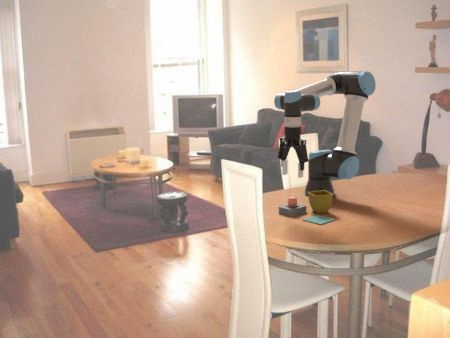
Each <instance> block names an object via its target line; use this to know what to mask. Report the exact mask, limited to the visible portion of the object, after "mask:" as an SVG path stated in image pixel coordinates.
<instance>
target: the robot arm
mask: <svg viewBox="0 0 450 338" xmlns="http://www.w3.org/2000/svg"><path fill="white" fill-rule="evenodd" d="M376 85H377V83H376V79H375V77H374V75H373V73H371V72H370V71H368V70H367V71H366V70H354V71H353V70H352V71H351V70H350V71H349V70H346V71H345V70H344V71H339V72H336V73H333V74H330V75H327V76H325V77H323V78H322V79H321V80H320V81H317V82H314V83H312V84H309V85H305V86H303V87H301V88H298V89H295V90H290V91H289V90H287V91H285V92H284V93H283V92H282V93H278V94H276V95H275V96H274V99H273V102H274V103H273V104H274V106H275V108H276V109H278V110H282V111H284V116H283V117H284V119H283V121H284V122H283V123H284V128H283V129H284V130H283V131H284V132H283V133H284V135H285V136H283V137H279V146H278V152H277V159H280V160H281V161H280V162H281V163H280V164H281V165H280V166H281V169H282V170H281V173H282V176H285V175H288V167H289V166H288V164H289V163H288V156H289V154H290V153H289V152H290V149H291V148H293V150H295V153H296V157H297V160H298V163H297V178H298V179H300V178H304V171H305V163H308V164H307V165H308V172H307V174H308V179H307V182H306V186H305V189H304V195H306V196H307V197H308V192H312V191H321V190H326V191H328V192H330V193H332V194H333V196H334V195H335V189H334V186H333V182H332V178H337V179H340V180H351V179H353V178H354V177H355V176H356V175H357V174H358V172H359V170H360V159H359V157H357V155H358V154H357V152H356V150H355V149H356V143H357V138H358V134H359V128H360V125H361V120H362V119H361V118H362V113H363V111H364V105H365V103H366V102H368V101H369V97H370V96H372V95H373V94H374V93H375V91H376V87H377V86H376ZM332 95H343V97H344V98H345V100H346V101H345V106H344V111H343V116H342V121H341V125H340V130H339V135H338V140H337V145H336V147H334V148H333V149H332V150H331V149H322V150H321V149H318V150H314V151H309V153H308V150H307V140H306V139H302V138H301V136H302V112H313V111H316V110H318V109H319V108H320V106H321V98H322V97H325V96H332Z"/></svg>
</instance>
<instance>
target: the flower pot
mask: <svg viewBox="0 0 450 338" xmlns="http://www.w3.org/2000/svg"><path fill="white" fill-rule="evenodd" d="M307 197H308V202H309V206H310V207H311V210H312V211H313V212H314V213H316V214H322V213H323V214H324V213H329V211H330V209H331V207H332V203H333V197H334V195H333V194H332V193H330V192H328V191H326V190H321V191H312V192H308V196H307Z"/></svg>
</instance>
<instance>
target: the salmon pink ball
mask: <svg viewBox="0 0 450 338" xmlns="http://www.w3.org/2000/svg"><path fill="white" fill-rule="evenodd" d="M287 204H288V207H291V208H294V207H297V204H298V198H297V196H289V197H288V198H287Z"/></svg>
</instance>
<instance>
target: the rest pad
mask: <svg viewBox="0 0 450 338" xmlns="http://www.w3.org/2000/svg"><path fill="white" fill-rule="evenodd" d="M302 221H304V222H308V223H312V224H315V225H319V226H322V225H326V224H327V223H331V222H334V221H336V219H335V218H332V217H328V216H324V215H320V214H315V215H313V216H309V217H306V218H303V219H302Z"/></svg>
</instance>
